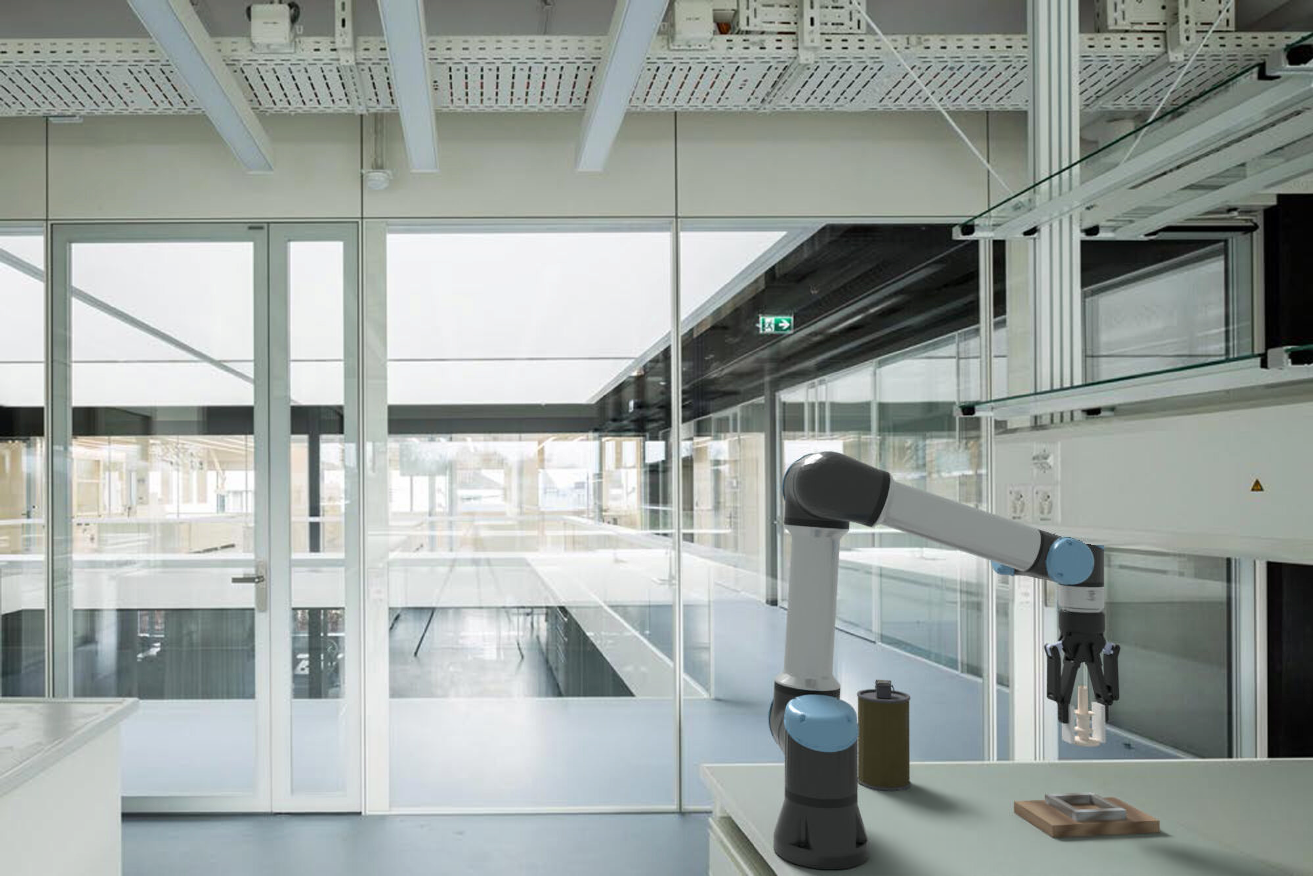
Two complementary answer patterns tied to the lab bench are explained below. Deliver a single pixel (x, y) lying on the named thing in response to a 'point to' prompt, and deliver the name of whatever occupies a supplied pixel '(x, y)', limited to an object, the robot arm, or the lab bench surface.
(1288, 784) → the lab bench surface
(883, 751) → the canister
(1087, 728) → the candle
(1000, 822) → the lab bench surface
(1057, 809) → the board
